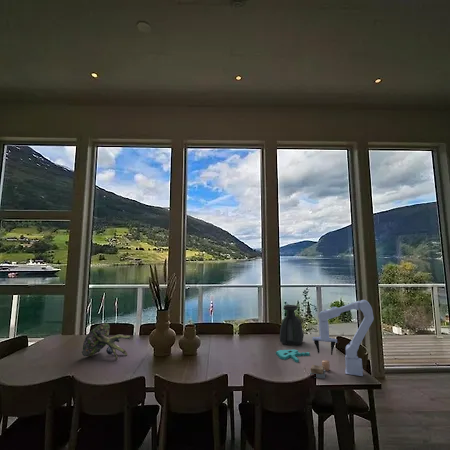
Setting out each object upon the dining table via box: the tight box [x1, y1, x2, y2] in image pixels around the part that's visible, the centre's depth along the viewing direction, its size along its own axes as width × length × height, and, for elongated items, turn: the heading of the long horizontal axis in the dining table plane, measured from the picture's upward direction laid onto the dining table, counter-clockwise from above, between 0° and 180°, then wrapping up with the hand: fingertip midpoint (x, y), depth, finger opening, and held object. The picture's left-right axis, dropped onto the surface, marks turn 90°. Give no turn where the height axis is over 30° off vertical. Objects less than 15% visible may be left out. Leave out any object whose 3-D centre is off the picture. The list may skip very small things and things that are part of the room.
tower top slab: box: [310, 364, 324, 374], centre depth 171 cm, size 6×6×2 cm
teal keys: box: [275, 348, 311, 363], centre depth 207 cm, size 20×2×20 cm
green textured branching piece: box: [81, 322, 131, 361], centre depth 210 cm, size 23×26×35 cm
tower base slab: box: [309, 370, 327, 379], centre depth 171 cm, size 8×8×2 cm
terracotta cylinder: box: [321, 359, 331, 372], centre depth 180 cm, size 4×4×5 cm
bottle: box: [278, 304, 304, 346], centre depth 244 cm, size 18×16×30 cm
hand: (325, 353), depth 181 cm, fingers open, 7 cm apart
